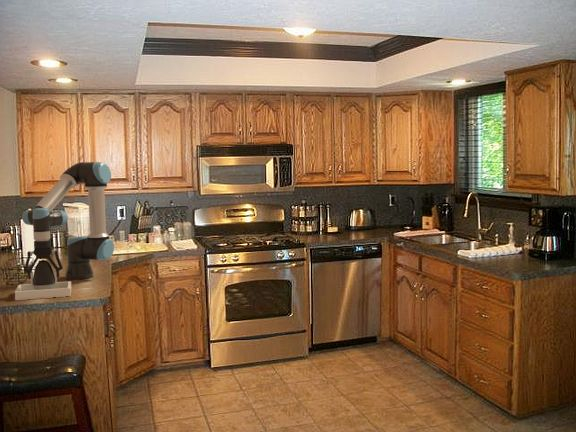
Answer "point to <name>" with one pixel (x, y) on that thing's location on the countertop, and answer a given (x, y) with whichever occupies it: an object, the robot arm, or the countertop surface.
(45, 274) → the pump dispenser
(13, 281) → the countertop surface
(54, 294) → the box
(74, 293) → the countertop surface
